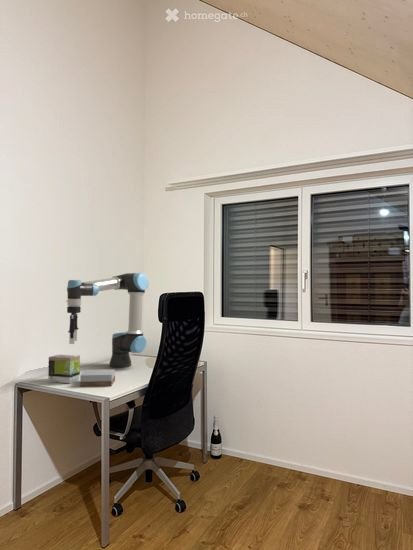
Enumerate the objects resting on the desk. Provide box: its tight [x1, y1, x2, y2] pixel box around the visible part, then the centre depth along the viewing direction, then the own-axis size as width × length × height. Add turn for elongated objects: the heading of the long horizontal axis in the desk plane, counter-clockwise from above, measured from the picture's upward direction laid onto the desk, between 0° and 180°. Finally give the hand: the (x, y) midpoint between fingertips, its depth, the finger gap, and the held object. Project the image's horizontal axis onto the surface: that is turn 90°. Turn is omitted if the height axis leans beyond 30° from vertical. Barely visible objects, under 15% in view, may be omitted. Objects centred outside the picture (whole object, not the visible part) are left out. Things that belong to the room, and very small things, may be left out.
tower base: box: [79, 375, 116, 388], centre depth 228 cm, size 14×17×4 cm
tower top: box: [79, 368, 116, 383], centre depth 228 cm, size 14×17×4 cm
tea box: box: [47, 354, 81, 384], centre depth 233 cm, size 15×10×15 cm
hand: (73, 342), depth 233 cm, fingers open, 13 cm apart
